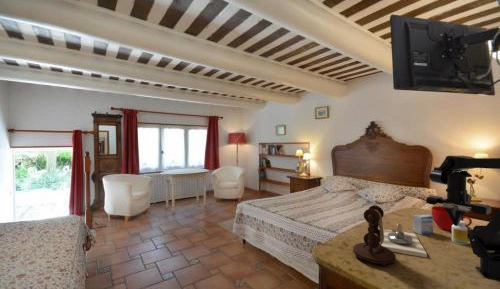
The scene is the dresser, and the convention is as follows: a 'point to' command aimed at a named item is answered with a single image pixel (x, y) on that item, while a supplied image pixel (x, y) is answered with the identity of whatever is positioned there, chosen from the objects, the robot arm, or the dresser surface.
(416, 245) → the ash stand
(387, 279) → the dresser surface
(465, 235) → the supplement bottle
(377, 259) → the brown tall stacked figurine
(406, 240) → the cam lever
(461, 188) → the robot arm
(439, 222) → the ceramic cup
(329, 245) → the dresser surface
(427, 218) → the medicine box
